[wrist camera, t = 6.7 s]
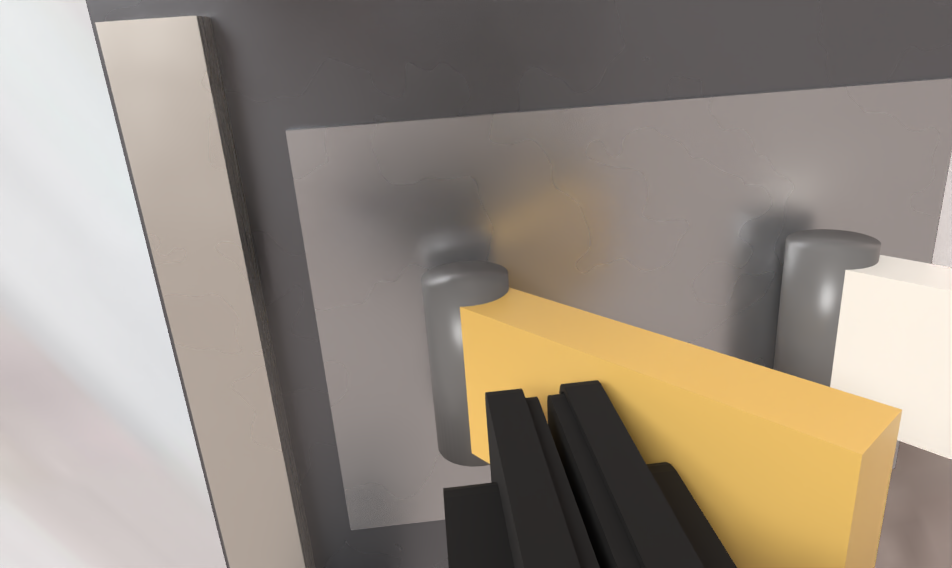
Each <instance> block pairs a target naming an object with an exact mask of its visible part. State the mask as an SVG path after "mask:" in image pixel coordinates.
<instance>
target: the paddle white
mask: <svg viewBox="0 0 952 568" xmlns="http://www.w3.org/2000/svg"><path fill="white" fill-rule="evenodd" d="M880 250H881V242H880V241H879V240H877V239H876V238H874V237H871V236H868V235H865V234H862V233H857V232H852V231H845V230H834V229H812V230H803V231H797V232H794V233H791V234H789V235H788V236H787V237H786V243H785V254H784V264H783V274H782V285H781V295H780V305H779V315H778V326H777V336H776V346H775V356H774V367H773V370H777V371H780V372H783V373H786V374H790V375H793V376H796V377H799V378H802V379H806V380H809V381H812V382H815V383H818V384H822V385H825V386H828V387H831V388H835V389H838V390H841V391H844V392H847V393H851V394H854V395H857V396H860V397H864V398H867V399H870V400H873V401H876V402H880V403H883V404H886V405H889V406H893V407H896V408H899V409H902V415H901V420H900V426H899V432H898V437H897V440H898V441H901V442H904V443H907V444H909V445H912V446H915V447H918V448H921V449H923V450H926V451H929V452H932V453H935V454H937V455H940V456H943V457H946V458H948V459H951V460H952V267H946V266H941V265H935V264H929V263H924V262H918V261H912V260H907V259H901V258H896V257H890V256H884V255H880Z"/></svg>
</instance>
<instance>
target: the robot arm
mask: <svg viewBox="0 0 952 568" xmlns="http://www.w3.org/2000/svg"><path fill="white" fill-rule="evenodd" d="M485 405H486V418H487V431H488V444H489V457H490V470H491V483H483V484H475V485H466V486H458V487H449V488H443V496H444V510H445V524H446V538H447V552H448V566H449V568H737V567H736V565H735V563H734V562H733V560H732V559H731V557H730V555H729V554H728V552H727V551H726V549H725V547H724V546H723V544H722V543H721V541H720V539H719V538H718V536H717V535H716V533H715V531H714V530H713V528H712V527H711V525H710V523H709V522H708V520H707V519H706V517H705V516H704V514H703V512H702V511H701V509H700V508H699V506H698V504H697V503H696V501H695V500H694V498H693V496H692V495H691V493H690V492H689V490H688V488H687V487H686V485H685V484H684V482H683V480H682V479H681V477H680V476H679V474H678V472H677V471H676V470H675V468H674V467H673V466H672V465H671V464H670V463H668V462H661V463H653V464H646V463H645V461H644V459H643V458H642V456H641V454H640V452H639V450H638V449H637V447H636V445H635V443H634V442H633V440H632V438H631V436H630V435H629V433H628V431H627V429H626V427H625V426H624V424H623V422H622V420H621V419H620V417H619V415H618V413H617V411H616V410H615V408H614V406H613V404H612V403H611V401H610V399H609V397H608V395H607V394H606V392H605V390H604V388H603V387H602V385H601V383H600V382H599V381H598V380H593V381H584V382H575V383H566V384H561V385H560V390H559V394H555V395H548V397H547V413H548V424H547V421H546V418H545V415H544V412H543V410H542V407H541V404H540V401H539V399H538V397H528V398H525V395H524V392H523V390H522V389H521V388H520V389H511V390H502V391H493V392H485Z"/></svg>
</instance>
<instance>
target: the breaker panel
mask: <svg viewBox="0 0 952 568" xmlns="http://www.w3.org/2000/svg"><path fill="white" fill-rule="evenodd" d="M86 3H87V7H88V11H89V15H90V20H91V24H92V28H93V32H94V36H95V40H96V44H97V48H98V52H99V56H100V60H101V64H102V68H103V72H104V76H105V80H106V84H107V88H108V92H109V96H110V100H111V104H112V108H113V112H114V116H115V120H116V124H117V128H118V132H119V136H120V140H121V144H122V148H123V152H124V156H125V160H126V164H127V168H128V172H129V176H130V180H131V184H132V188H133V192H134V196H135V200H136V204H137V208H138V212H139V216H140V220H141V224H142V228H143V232H144V236H145V240H146V244H147V248H148V252H149V256H150V260H151V264H152V268H153V273H154V277H155V281H156V285H157V289H158V293H159V297H160V301H161V305H162V309H163V313H164V317H165V321H166V325H167V329H168V333H169V337H170V341H171V345H172V349H173V353H174V357H175V361H176V365H177V369H178V373H179V377H180V381H181V385H182V389H183V393H184V397H185V401H186V405H187V409H188V413H189V417H190V421H191V425H192V429H193V433H194V437H195V441H196V445H197V449H198V453H199V457H200V461H201V465H202V469H203V473H204V477H205V481H206V485H207V489H208V493H209V497H210V501H211V505H212V509H213V513H214V517H215V521H216V526H217V530H218V534H219V538H220V542H221V546H222V550H223V554H224V558H225V562H226V566H227V568H449V566H448V552H447V538H446V524H445V510H444V496H443V488H449V487H458V486H466V485H475V484H483V483H491V470H490V465H486V466H477V467H470V466H462V465H458V464H454V463H452V462H450V461H448V460H446V459H445V458H444V457H443V456H442V455H441V454H440V452H439V450H438V441H437V432H436V422H435V412H434V402H433V392H432V383H431V373H430V363H429V353H428V344H427V334H426V324H425V314H424V304H423V295H422V285H421V277H422V275H423V274H424V273H425V272H426V271H428V270H430V269H432V268H434V267H437V266H440V265H444V264H448V263H453V262H461V261H484V262H491V263H496V264H499V265H501V266H503V267H505V268H506V269H507V271H508V280H509V287H510V288H513V289H516V290H519V291H522V292H526V293H529V294H532V295H535V296H539V297H542V298H545V299H548V300H551V301H555V302H558V303H561V304H564V305H567V306H571V307H574V308H577V309H580V310H584V311H587V312H590V313H593V314H596V315H600V316H603V317H606V318H609V319H613V320H616V321H619V322H622V323H625V324H629V325H632V326H635V327H638V328H641V329H645V330H648V331H651V332H654V333H658V334H661V335H664V336H667V337H670V338H674V339H677V340H680V341H683V342H687V343H690V344H693V345H696V346H699V347H703V348H706V349H709V350H712V351H716V352H719V353H722V354H725V355H728V356H732V357H735V358H738V359H741V360H744V361H748V362H751V363H754V364H757V365H761V366H764V367H767V368H770V369H773V367H774V356H775V346H776V336H777V326H778V315H779V305H780V295H781V285H782V274H783V264H784V254H785V243H786V237H787V236H788V235H789V234H791V233H794V232H797V231H803V230H812V229H834V230H845V231H852V232H857V233H862V234H865V235H868V236H871V237H874V238H876V239H877V240H879V241H880V242H881V250H880V255H884V256H890V257H896V258H901V259H907V260H912V261H918V262H924V263H929V264H932V258H933V253H934V247H935V242H936V236H937V230H938V225H939V219H940V214H941V208H942V202H943V197H944V191H945V186H946V180H947V174H948V169H949V163H950V158H951V152H952V0H86ZM899 443H900V441H898V440H897V443H896V449H895V454H894V460H893V466H892V469H894V468H895V466H896V460H897V455H898V449H899Z"/></svg>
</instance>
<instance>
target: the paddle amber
mask: <svg viewBox="0 0 952 568" xmlns="http://www.w3.org/2000/svg"><path fill="white" fill-rule="evenodd" d="M421 285H422V295H423V304H424V314H425V324H426V334H427V344H428V353H429V363H430V373H431V383H432V392H433V402H434V412H435V422H436V432H437V441H438V450H439V452H440V454H441V455H442V456H443V457H444V458H445V459H446V460H448V461H450V462H452V463H454V464H458V465H462V466H470V467H477V466H486V465H490V457H489V444H488V431H487V418H486V405H485V392H493V391H502V390H511V389H520V388H521V389H522V390H523V392H524V395H525V398H528V397H538V399H539V401H540V404H541V407H542V410H543V412H544V415H545V418H546V421H547V424H548V413H547V397H548V395H555V394H559V390H560V385H561V384H566V383H575V382H584V381H593V380H598V381H599V382H600V383H601V385H602V387H603V388H604V390H605V392H606V394H607V395H608V397H609V399H610V401H611V403H612V404H613V406H614V408H615V410H616V411H617V413H618V415H619V417H620V419H621V420H622V422H623V424H624V426H625V427H626V429H627V431H628V433H629V435H630V436H631V438H632V440H633V442H634V443H635V445H636V447H637V449H638V450H639V452H640V454H641V456H642V458H643V459H644V461H645V463H646V464H653V463H661V462H668V463H670V464H671V465H672V466H673V467H674V468H675V470H676V471H677V472H678V474H679V476H680V477H681V479H682V480H683V482H684V484H685V485H686V487H687V488H688V490H689V492H690V493H691V495H692V496H693V498H694V500H695V501H696V503H697V504H698V506H699V508H700V509H701V511H702V512H703V514H704V516H705V517H706V519H707V520H708V522H709V523H710V525H711V527H712V528H713V530H714V531H715V533H716V535H717V536H718V538H719V539H720V541H721V543H722V544H723V546H724V547H725V549H726V551H727V552H728V554H729V555H730V557H731V559H732V560H733V562H734V563H735V565H736V567H737V568H875V562H876V556H877V551H878V545H879V539H880V534H881V528H882V522H883V517H884V511H885V505H886V500H887V494H888V488H889V483H890V477H891V471H892V466H893V460H894V454H895V449H896V443H897V437H898V432H899V426H900V420H901V415H902V409H899V408H896V407H893V406H889V405H886V404H883V403H880V402H876V401H873V400H870V399H867V398H864V397H860V396H857V395H854V394H851V393H847V392H844V391H841V390H838V389H835V388H831V387H828V386H825V385H822V384H818V383H815V382H812V381H809V380H806V379H802V378H799V377H796V376H793V375H790V374H786V373H783V372H780V371H777V370H773V369H770V368H767V367H764V366H761V365H757V364H754V363H751V362H748V361H744V360H741V359H738V358H735V357H732V356H728V355H725V354H722V353H719V352H716V351H712V350H709V349H706V348H703V347H699V346H696V345H693V344H690V343H687V342H683V341H680V340H677V339H674V338H670V337H667V336H664V335H661V334H658V333H654V332H651V331H648V330H645V329H641V328H638V327H635V326H632V325H629V324H625V323H622V322H619V321H616V320H613V319H609V318H606V317H603V316H600V315H596V314H593V313H590V312H587V311H584V310H580V309H577V308H574V307H571V306H567V305H564V304H561V303H558V302H555V301H551V300H548V299H545V298H542V297H539V296H535V295H532V294H529V293H526V292H522V291H519V290H516V289H513V288H510V287H509V280H508V271H507V269H506V268H505V267H503V266H501V265H499V264H496V263H491V262H484V261H461V262H453V263H448V264H444V265H440V266H437V267H434V268H432V269H430V270H428V271H426V272H425V273H424V274H423V275H422V277H421Z"/></svg>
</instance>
